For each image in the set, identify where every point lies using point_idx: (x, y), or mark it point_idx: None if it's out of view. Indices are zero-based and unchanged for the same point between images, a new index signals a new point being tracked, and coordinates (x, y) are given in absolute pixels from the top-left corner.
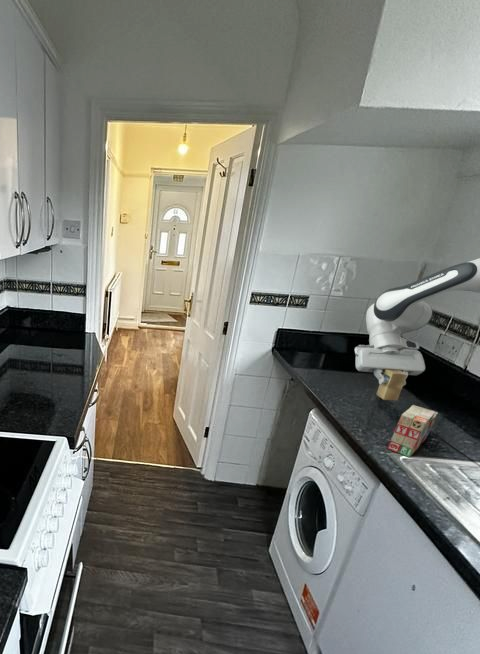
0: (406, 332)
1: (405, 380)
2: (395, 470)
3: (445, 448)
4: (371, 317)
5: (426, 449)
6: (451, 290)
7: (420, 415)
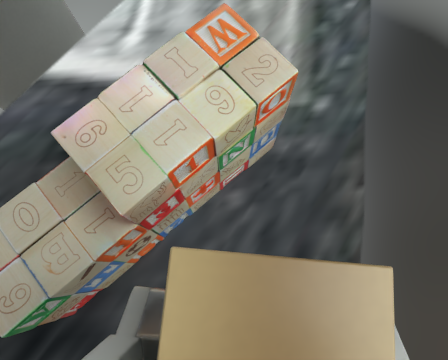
0: None
1: (124, 316)
2: (340, 9)
3: (55, 152)
4: None
5: None
6: None
7: (194, 68)
